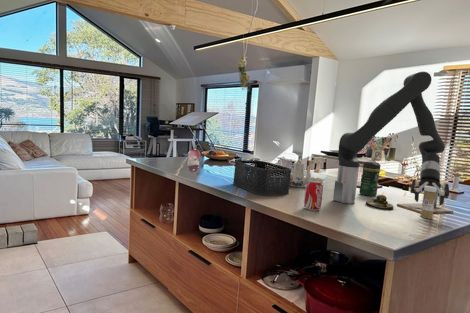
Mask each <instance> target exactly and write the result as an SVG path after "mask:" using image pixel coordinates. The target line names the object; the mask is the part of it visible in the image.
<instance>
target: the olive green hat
mask: <svg viewBox="0 0 470 313" xmlns="http://www.w3.org/2000/svg"><path fill="white" fill-rule="evenodd" d="M384 193H385V191H383V192H382V194H378V195H376V198H374V197H372V198H371V199H370V200H366V201H365V205H369V206H371V207H375V208H380V209H389V210H390V211H392V210H393V209H394V205H393V204H392V203H389V201H388V200H387V196H386V195H385V194H384Z"/></svg>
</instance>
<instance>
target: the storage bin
mask: <svg viewBox="0 0 470 313" xmlns="http://www.w3.org/2000/svg"><path fill="white" fill-rule="evenodd" d="M250 164H253V165H250ZM291 173H292V168H290V167H288V166H287V167H286V166H282V165H279V164H276V163H272V162H268V161H263V160H247V159H246V160H242V159H240V160H239V159H236V160H235V164H234V173H233V182H232V184H233V185H234V186H237V187H239V188H241V189H244V190H245V191H248V192H250V193H252V194H255V195H259V196H265V197H266V196H286V195H289V192H290V186H291V185H290V176H291ZM284 174H285V175H284Z"/></svg>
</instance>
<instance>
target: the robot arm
mask: <svg viewBox="0 0 470 313" xmlns="http://www.w3.org/2000/svg"><path fill="white" fill-rule="evenodd" d="M431 84H432V76H431V74H430V73H429V72H428V71H421V70H420V71H417V72H414V73H412V74H410V75H408V76H406V77H405V79H404V80H403V87H402V88H400V89H399V90H397V91H396V92H395V93H393V94H392V95H390V96H388V97H387V98H385V99H384V100H383V101H382V102H381V103H379V105H377V106H376V107H375V108H373V110H372V111H371V113H370V114H369V117H368V118H367V120H366V122H365V123H364V124H363V125H362V126H361V127H360V128H358V129H356V131H354V132H346V133H343V135H341V136H340V139H339V143H338V150H337V151H338V152H337V153H338V154H337V159H338V167H337V168H338V169H337V176H336V180H335V181H334V187H333V197H332V201H336V202H337V203H340V204H342V203H343V204H355V200H356V193H357V186H358V178H359V170H360V161H359V160H358V155H357V154H358V153H359V152H362V150H363V149H364V148H365V147H366V146H367V145H368V144H369V142H370V141H372V139H373V138H374V137H375V136H376V135H377V134H378V133H379V132H381V131H382V129H384V128H385V127H386V126H387V125H388V124H389V123H390V122H392V121H393V120H394V119H395V118H396V117H397V116H398V115H399V114H400V113H401V112H402V111H403V110H404V109H405V108H406V107H407V106H408V105H409V104H410V105H411V107H412V110H413V113H414V116H415V119H416V123H417V128H418V132H419V135H421V136H424V137H426V136H427V137H431V138H432V139H427V140H422V141H420V143H419V144H418V149H419V152H420V154H421V162H422V163H421V167H420V172H419V173H420V178H419V179H420V180H419V181H418V180H417V181H416V179H412V180H411V181H412V182H411V185H410V191H409V192H410V194H413V195H414V201H415V203H418V202H419V198H420V197H419V196H420V194H422V193H424V187H425V186H433V187H436V188H437V192H436V195H438V197H439V199H438V206H439V207H442V205H444V203H445V199H449V196H450V186H449V184H448V183H445V184H441V168H440V167H441V165H440V164H441V163H440V162H441V158H440V156H439V154H441V153H443V152H444V151H445V149H446V144H445V142H444V141H443V139H442V138H441V135H440V134H439V133H438V129H437V127H436V123H435V118H434V116H433V114H432V111H431V110H430V109H429V107H428V106H427V105H426V101H424V98H423V92H425V91H426V90H428V89H429V87H430V85H431ZM417 186H418V188H417V189H415V187H417ZM442 190H443V191H444V192H443V191H442Z"/></svg>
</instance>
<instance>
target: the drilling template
mask: <svg viewBox="0 0 470 313" xmlns="http://www.w3.org/2000/svg"><path fill="white" fill-rule="evenodd" d="M438 197H439V196H438V195H435V202H434V209H433V215H434V214H453V213H454V210H451V209H448V208H444V207H442V206H439V205H438V206H437V203H438ZM396 206H397V207H400V208H402V209H406V210H409V211H412V212H415V213H419V214H421V208H422V203H421V202H419V203H418V202H415V203H396Z"/></svg>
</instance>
